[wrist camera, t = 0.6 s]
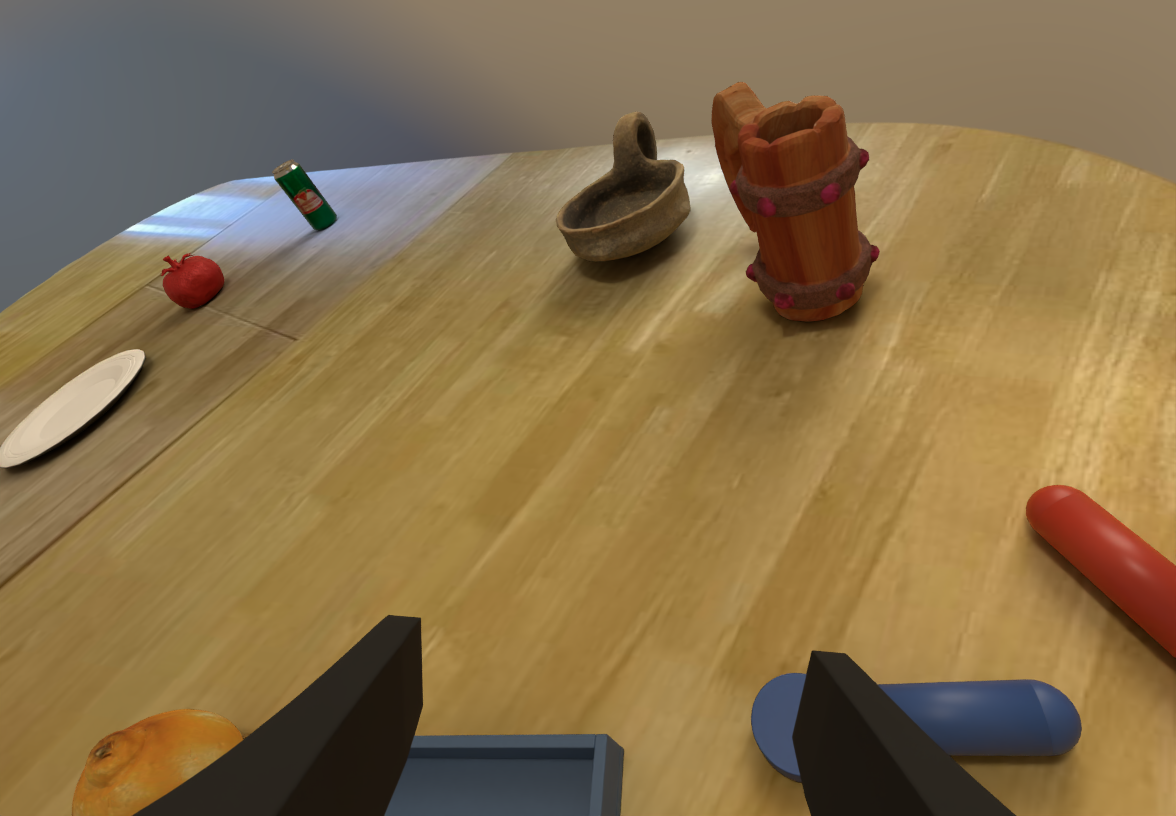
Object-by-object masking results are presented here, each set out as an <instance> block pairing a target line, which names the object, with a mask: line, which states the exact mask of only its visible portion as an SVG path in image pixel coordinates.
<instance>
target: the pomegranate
mask: <svg viewBox="0 0 1176 816" xmlns="http://www.w3.org/2000/svg"><path fill="white" fill-rule="evenodd" d="M189 254H191V253H189ZM189 256H193V255H188V254H185V255H184V256H183V257H182V260H181V261H180V263H177V261H176V260H174V261H173V260H171V259H170V257H169V256H167V257H165V258H164V259H163V260H164V261H166V262H168V263H169V264H170V265H171V266H172V267H171V268H168V269H163V270H162V273H161V274H162V275H161V276H163V275H164V274H165V273H166V272H169V273H168V274H167V275H166V276H165V277H164V279H163V287H164V290H165V292H166V294H167V295H168V297H169V298H170V299H171V300H172V301H174V302H175V303H176V304H178V305H179V306H182V307H184V308H191V309H193V308H197V307H199V306H201V305H204V304H205V303H207V302H208V301H209V300H211V299H212V298H213V297H214V296H215V295H216V294H217V293H218V292H219V290H220V289H221V288H222V287H223V285H224V276H223V273H222V271H221V269H220V267H219V266H218V265H217V264H216V263H215V262H214V261H212V260H210V259H207V258H204V257H202V256H193V257H190V258H188V259H186V260H185V257H189Z"/></svg>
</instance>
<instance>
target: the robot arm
mask: <svg viewBox="0 0 1176 816" xmlns="http://www.w3.org/2000/svg"><path fill="white" fill-rule="evenodd" d="M422 707H423V688H422V646H421V618H417V617H405V616H393V615H388V616H387V617H385V618H384V619H383V620H382V621H381V622H379V623H378V624H377V625H376V626H375V627H374V628H373V629H372V630H371V631H370V632H369V633H367V634H366V635H365V636H364V637H363V638H362V639H361V640H360V641H359V642H358V643H357V644H356V645H355V646H353V647H352V648H351V649H350V650H349V651H348V652H347V653H346V654H345V655H344V656H343V657H341V658H340V659H339V660H338V661H337V662H336V663H335V664H334V665H333V666H332V667H330V668H329V669H328V670H327V671H326V672H325V673H324V674H322V675H321V676H320V677H319V678H318V679H317V680H316V681H314V682H313V683H312V684H311V685H310V686H309V687H308V688H306V689H305V690H304V691H303V692H302V693H301V694H300V695H298V696H297V697H296V698H295V699H294V700H292V701H291V702H290V703H289V704H288V705H286V706H285V707H284V708H283V709H281V710H280V711H279V712H278V713H276V714H275V715H274V716H273V717H271V718H270V719H269V720H268V721H266V722H265V723H264V724H263V725H262V726H260V727H259V728H258V729H257V730H255V731H254V732H253V733H252V734H250V735H249V736H248V737H246V738H245V739H244V740H243V741H241V742H240V743H239V744H237V745H236V746H235V747H233V748H232V749H231V750H229V751H228V752H227V753H225V754H224V755H222V756H221V757H220V758H218V759H217V760H216V761H214V762H213V763H211V764H210V765H209V766H207V767H206V768H204V769H203V770H201V771H200V772H198V773H197V774H196V775H194V776H193V777H191V778H190V779H188V780H187V781H185V782H184V783H182V784H181V785H179V786H178V787H176V788H175V789H173V790H172V791H170V792H169V793H167V794H166V795H164V796H162V797H161V798H159V799H158V800H156V801H154V802H153V803H151V804H149V805H148V806H146V807H145V808H143V809H141V810H140V811H138V812H137V813H135V814H133V815H132V816H384V815H385V813H386V810H387V808H388V805H389V803H390V801H391V798H392V796H393V793H394V791H395V788H396V786H397V784H398V781H399V779H400V776H401V774H402V771H403V769H404V767H405V764H406V761H407V758H408V755H409V751H410V748H411V745H412V742H413V738H414V735H415V731H416V728H417V724H418V721H419V717H420V714H421V710H422ZM792 740H793V745H794V750H795V754H796V759H797V764H798V768H799V773H800V777H801V781H802V785H803V789H804V794H805V798H806V801H807V804H808V807H809V810H810V813H811V816H1016V815H1015V814H1014V813H1012V812H1011V811H1010V810H1009V809H1008V808H1007V807H1006V806H1004V805H1003V804H1002V803H1001V802H1000V801H999V800H998V799H997V798H995V797H994V796H993V795H992V794H991V793H990V792H989V791H988V790H986V789H985V788H984V787H983V786H982V785H981V784H980V783H979V782H977V781H976V780H975V779H974V778H973V777H972V776H971V775H970V774H968V773H967V772H966V771H965V770H964V769H963V768H962V767H961V766H960V765H959V764H958V763H957V762H956V761H954V760H953V759H952V758H951V757H950V756H949V755H948V754H947V753H946V752H945V751H944V750H943V749H942V748H941V747H940V746H939V745H938V744H937V743H935V742H934V741H933V740H932V739H931V738H930V737H929V736H928V735H927V734H926V733H925V732H924V731H923V730H922V729H921V728H920V727H919V726H918V725H917V724H916V723H915V722H914V721H913V720H912V719H911V718H910V717H909V716H908V715H907V714H906V713H905V712H904V711H903V710H902V709H901V708H900V707H899V706H898V705H897V704H896V703H895V702H894V701H893V700H892V699H891V698H890V697H889V696H888V695H887V694H886V693H885V692H884V691H883V690H882V689H881V688H880V687H879V686H878V685H877V684H876V683H875V682H874V681H873V680H872V679H871V678H870V677H869V676H868V675H867V674H866V673H865V672H864V671H863V670H862V669H861V668H860V667H859V666H858V665H857V664H856V663H855V662H854V661H853V660H852V659H851V658H850V657H849V656H848V655H847V654H845V653H834V652H822V651H812V652H811V657H810V661H809V665H808V670H807V674H806V678H805V683H804V687H803V691H802V696H801V700H800V704H799V709H798V713H797V717H796V722H795V726H794V730H793V735H792Z"/></svg>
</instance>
